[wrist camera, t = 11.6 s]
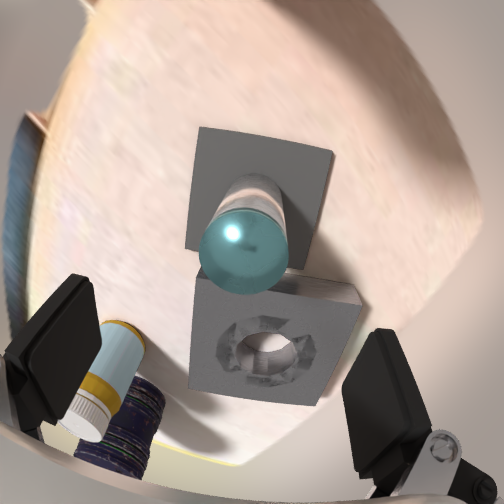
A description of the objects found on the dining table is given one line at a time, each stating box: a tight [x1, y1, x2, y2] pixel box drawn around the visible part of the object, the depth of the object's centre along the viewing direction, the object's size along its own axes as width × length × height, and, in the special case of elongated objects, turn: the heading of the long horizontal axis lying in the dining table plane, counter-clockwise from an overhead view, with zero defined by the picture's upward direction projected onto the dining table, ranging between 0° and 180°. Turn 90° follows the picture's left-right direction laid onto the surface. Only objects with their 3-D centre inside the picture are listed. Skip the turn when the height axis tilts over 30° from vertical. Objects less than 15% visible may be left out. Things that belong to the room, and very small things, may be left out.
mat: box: [185, 127, 333, 270], centre depth 28 cm, size 12×12×1 cm
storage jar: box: [74, 376, 165, 480], centre depth 35 cm, size 10×10×15 cm
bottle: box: [58, 320, 145, 442], centre depth 30 cm, size 7×7×15 cm
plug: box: [199, 173, 289, 295], centre depth 22 cm, size 5×5×12 cm
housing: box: [188, 266, 363, 406], centre depth 33 cm, size 16×16×4 cm
